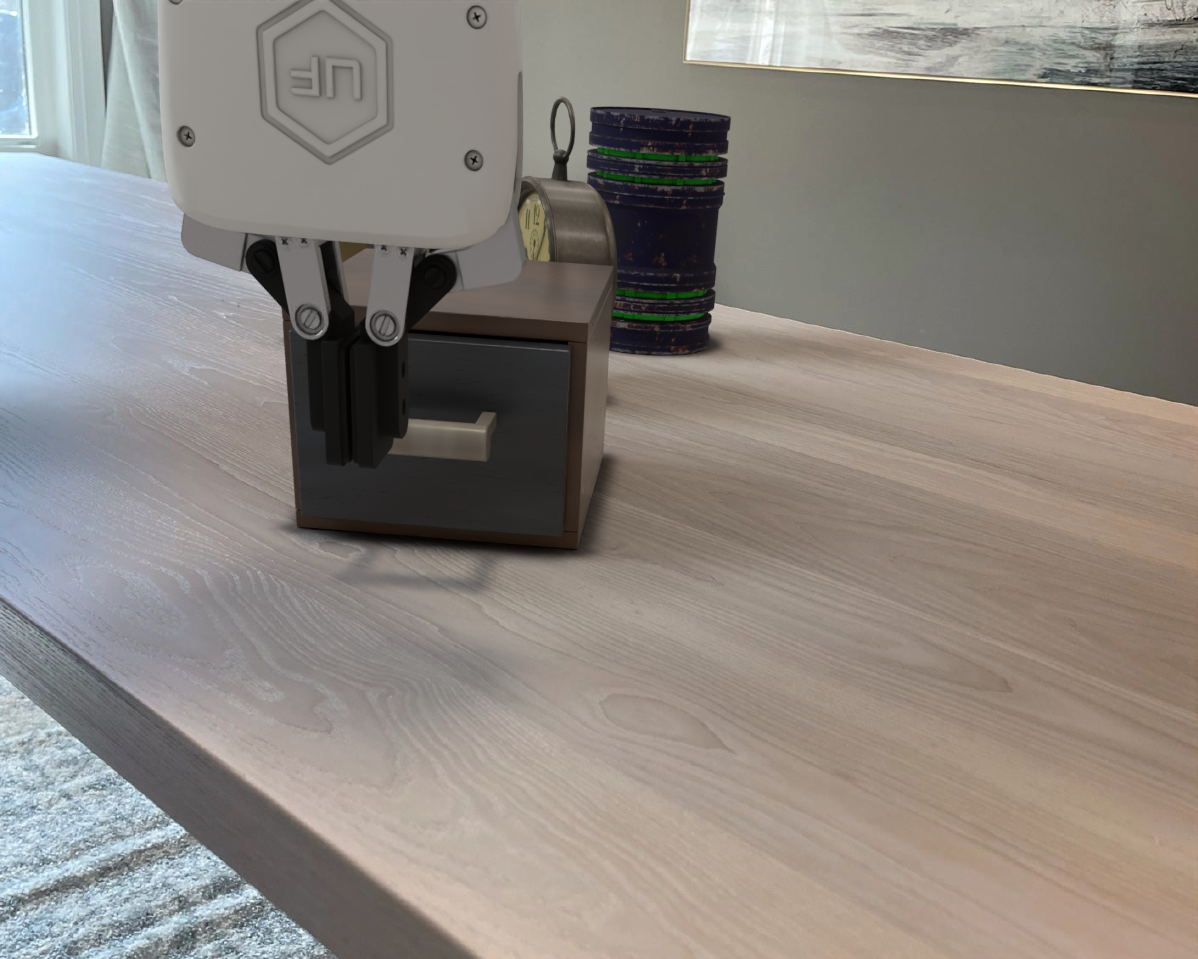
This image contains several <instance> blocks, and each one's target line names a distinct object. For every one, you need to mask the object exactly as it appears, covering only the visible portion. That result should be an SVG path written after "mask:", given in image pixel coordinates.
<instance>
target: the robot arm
mask: <svg viewBox="0 0 1198 959" xmlns="http://www.w3.org/2000/svg"><path fill="white" fill-rule="evenodd" d="M521 11H522V10H521V0H157V59H158V60H157V61H158V62H157V63H158V87H159V88H158V90H159V92H158V93H159V112H160V113H159V114H160V129H161V130H160V131H161V142H162V155H163V163H164V170H165V178H166V183H167V186H168V191H169V193H170V196H171V200H172V201H173V203H174V204H175V206H176V207H177V208H178V209H179V210H180V211H181V212H182V213H183V216H182V223H181V230H180V242H181V244H182V246H183V248H184V250H185V251H186V252H187V253H188V254H190V255H192V256H193V257H195V258H198V259H201V260H204V261H208V262H210V263H213V264H216V265H218V266H222V267H225V268H228V269H231V270H233V271H236V272H243V273H246V274H248V275H251V276H252V277H253V278H254V279H255V280H256V281H257V283H258V284H259V285H260V286H261V287H262V288H263V289H264V290H265V291H266V292H267V293H268V294H269V295H270V297H271V298H272V299H273V300H274V301H275V302H276V303H277V305H279V306H280V308H281V309H282V308H283V309H284V310H285V312H286V313H287V314H288V315H289V316H290V319H291V323H292V325H293V328H294V329H295V331H296V332H297V333H298V334H299V335H300V336H302V337H304V338H306V348H307V368H308V389H309V409H310V423H311V427H312V429H313V430H314V431H320V432H325V447H326V461H327V464H328V465H334V466H345V464H346V463H350V462H351V461H352V460H353V462H354V463H357V464H359V467H360V468H367V469H376V468H377V467H378V466H379V464H380V463H381V462H382V460H383V459H384V458H385V456H386V455H387V454H388V452H389V451H390V450H391V448H392V446H393V441H394V438H397V439H402V438H403V437H404V436H405V435H406V433H407V429H408V421H409V376H408V331H409V330H410V329H411V328H412V327H413V326H414V325H415V324H416V323H418V322H419V321H420V320H421V319H422V318H423V317H424V316H425V315H426V314H427V313H428V312H429V311H430V310H431V309H432V308H433V307H434V306H435V305H436V304H437V303H438V302H439V301H440V300H441V299H442V298H443V297H444V296H445V295H446V294H449V293H454V292H460V291H469V290H475V289H481V288H486V287H492V286H498V285H503V284H509V283H512V282H514V281H516V280H517V279H518V278H519V276H520V275H521V274H522V273H523V271H524V270H525V267H526V264H527V257H526V252H525V247H524V241H523V236H522V231H521V226H520V220H519V215H518V210H517V206H518V203H519V198H520V192H521V183H522V178H523V165H524V82H523V77H524V76H523V48H522V47H523V41H522V40H523V39H522V38H523V36H522V19H521V18H522V12H521ZM339 241H342V242H354V243H366V244H375V245H374V254H373V262H372V271H371V279H370V288H369V296H368V305H367V313H366V317H365V318H364V319H363V320H362V321H361V322H360V323H355V311H354V310H353V308H352V307H351V306H350V305H349V298H348V292H347V286H346V280H345V275H344V269H343V263H342V257H341V251H340V245H339ZM429 248H431V249H436V250H434V251H433V252H432V253H430V254H429ZM428 254H429V255H428Z"/></svg>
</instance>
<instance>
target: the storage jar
mask: <svg viewBox="0 0 1198 959" xmlns="http://www.w3.org/2000/svg"><path fill="white" fill-rule="evenodd" d="M589 110H590V111H589V121H590V123H591V129H590V130H591V131H589V133H588V144H589V146H592V147H594V148H591V149H587V151H586V154H587V155H586V169H589V170H592V171H590V172H587V175H586V183H587V184H589V185H591V186H592V187H593V188H594V189H595V190H596V191H597V192H598V193H599V194H600V196H601V197H602V199H603V200H604V202H605V204H606V206H607V208H608V211H609V214H610V217H611V220H612V224H613V229H614V234H615V241H616V250H617V292H616V297H615V304H614V310H613V315H612V320H611V327H610V345H609V351H615V352H621V353H628V354H639V355H653V356H654V355H655V356H657V355H658V356H660V355H663V356H664V355H665V356H667V355H668V356H671V355H672V356H673V355H686V354H693V353H698V352H701V351H704V350H706V349H708V348H709V347H710V341H711V336H710V333H709V330H710V328H709V327H710V325H711V323H712V319H713V316H712V314H711V313H710V312H712V311H714V309H715V303H716V290H715V289H713V288H714V287H715V286H716V279H717V278H716V277H717V265H716V263H715V256H716V244H717V234H718V224H719V214H720V213H719V212H720V209H721V207H722V206H723V205H724V196H725V195H726V192H725V181H723V180H721V179H724V178H727V176H728V168H729V159H728V158H726V157H723V156H722V155H727V154H728V153H729V145H730V144H729V143H730V142H729V140H728V132H729V131H730V130H731V123H732V122H731V121H732V116H731V115H726V114H720V113H713V112H706V111H697V110H687V109H685V110H683V109H674V108H659V107H639V106H613V105H611V106H610V105H609V106H606V105H605V106H591V107H590V109H589ZM595 147H596V148H595Z"/></svg>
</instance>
